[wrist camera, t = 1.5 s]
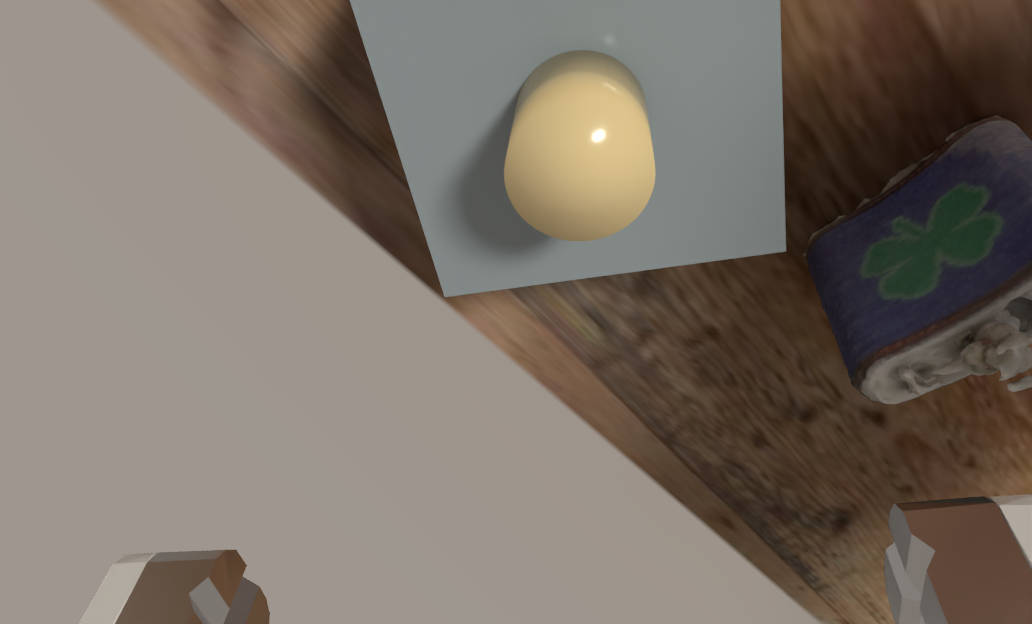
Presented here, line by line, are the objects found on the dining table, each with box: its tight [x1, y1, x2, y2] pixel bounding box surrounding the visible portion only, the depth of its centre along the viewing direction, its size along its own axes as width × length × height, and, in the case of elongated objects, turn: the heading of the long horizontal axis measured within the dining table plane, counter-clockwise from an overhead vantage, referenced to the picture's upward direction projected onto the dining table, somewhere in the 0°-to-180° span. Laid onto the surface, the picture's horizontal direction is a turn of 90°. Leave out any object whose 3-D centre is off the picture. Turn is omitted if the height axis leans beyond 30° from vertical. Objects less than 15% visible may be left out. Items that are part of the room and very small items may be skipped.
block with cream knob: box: [350, 0, 786, 297], centre depth 21 cm, size 10×10×6 cm
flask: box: [802, 116, 1032, 405], centre depth 29 cm, size 9×3×11 cm, turn 137°
